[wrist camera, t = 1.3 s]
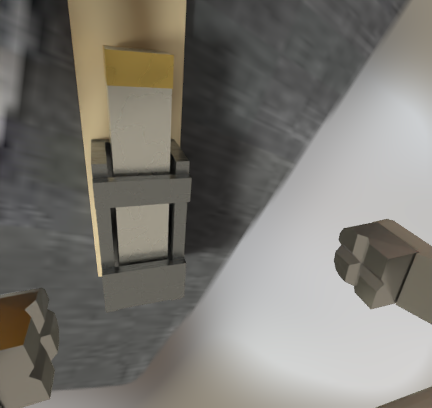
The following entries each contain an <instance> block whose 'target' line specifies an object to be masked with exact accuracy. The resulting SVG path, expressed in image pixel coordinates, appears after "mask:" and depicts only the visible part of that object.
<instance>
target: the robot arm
mask: <svg viewBox="0 0 432 408" xmlns="http://www.w3.org/2000/svg"><path fill="white" fill-rule="evenodd" d="M339 241H340V243H341V246H340V247H339V248H338V250H337V251H336V253H335V258H334V263H335V267H336V270H337V272H338V274H339V276H340V277H341V278H342V279H343V280H344V281H345V282H347V283H349V284H351V285H353V286H354V289H355V293H356V294H357V295H358V296H359V297H360V298H361V299H362V301H364V303H365V304H366V305H367V306H368V307H369V308H370V309H374V308H378V307H382V306H386V305H390V304H394V303H396V305H398V306H399V307H401V308H403V309H405V310H407V311H408V312H410V313H412V314H414V315H416V316H418V317H419V318H421V319H423V320H425V321H427V322H428V323H430V324H432V246H431V245H429V244H427V243H426V242H425V241H423V240H422V239H420V238H419V237H417V236H416V235H414V234H413V233H411V232H410V231H408V230H407V229H405V228H404V227H402V226H401V225H399V224H398V223H396V222H395V221H393V220H389V219H385V220H380V221H376V222H372V223H368V224H363V225H359V226H353V227H348V228H344V229H343V230H342V231H341V233H340V236H339ZM48 303H49V298H48V295H47V293H46V291H45V289H43V288H36V289H30V290H25V291H19V292H13V293H8V294H2V295H0V408H22V407H25V406H29V405H32V404H35V403H38V402H42V401H45V400H48V399H50V396H51V390H52V384H53V378H54V372H55V370H54V367H53V365H52V362H51V360H52V359H53V357H54V356H55V355H56V354H57V353H58V346H59V327H58V322H57V318H56V316H55V313H54V312H52V311H50V310H48V309H47V308H48ZM376 408H432V387H429V388H427V389H424V390H421V391H418V392H416V393H413V394H410V395H408V396H405V397H403V398H400V399H397V400H395V401H392V402H389V403H387V404H384V405H381V406H379V407H376Z"/></svg>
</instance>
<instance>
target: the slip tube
mask: <svg viewBox="0 0 432 408" xmlns="http://www.w3.org/2000/svg"><path fill="white" fill-rule="evenodd" d="M102 47H103V61H104V75H105V80H106V93H107V108H108V122H109V136H110V151H111V165H112V177H126V176H148V175H169V174H170V146H171V109H172V89H173V71H174V55H173V54H170V53H167V52H165V51H162V50H153V49H142V48H131V47H119V46H108V45H102ZM168 219H169V203H168V204H155V205H143V206H130V207H117V208H115V223H116V237H117V252H118V266H125V265H132V264H140V263H147V262H154V261H161V260H167V256H168Z"/></svg>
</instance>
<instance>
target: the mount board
mask: <svg viewBox="0 0 432 408" xmlns="http://www.w3.org/2000/svg"><path fill="white" fill-rule="evenodd" d="M68 9H69V18H70V27H71V36H72V45H73V54H74V62H75V71H76V80H77V89H78V98H79V107H80V116H81V125H82V134H83V143H84V152H85V161H86V170H87V179H88V188H89V197H90V206H91V215H92V224H93V233H94V242H95V251H96V259H97V268H98V277H101V276H102V266H101V256H100V247H99V237H98V227H97V218H96V209H95V203H94V193H93V184H92V169H91V139H110V136H109V122H108V108H107V93H106V80H105V75H104V61H103V47H102V45H108V46H119V47H131V48H142V49H153V50H162V51H165V52H167V53H170V54H173V55H174V71H173V89H172V109H171V139H174V140H175V141H176V143H177V144H178V145H179V147H180V137H181V114H182V91H183V67H184V44H185V20H186V0H68Z"/></svg>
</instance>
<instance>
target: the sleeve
mask: <svg viewBox="0 0 432 408" xmlns="http://www.w3.org/2000/svg"><path fill="white" fill-rule="evenodd" d="M189 163H190V161H189V160H188V158H187V157H186V155H185V154H184V153H183V151H182V150H181V148H180V147H179V145H178V144H177V143H176V141H175V140H174V139H171V146H170V174H169V175H148V176H126V177H112V165H111V151H110V139H91V169H92V184H93V193H94V203H95V209H96V218H97V227H98V237H99V247H100V256H101V266H102V280H103V289H104V299H105V309H106V313H107V312H112V311H117V310H118V309H122V308H127V307H133V306H138V305H144V304H149V303H155V302H160V301H165V300H177V299H181V298H182V297H184V289H185V274H186V261H185V259H184V247H185V231H186V214H187V202H190V196H191V181H192V178H191V176H190V175H189ZM168 203H169V219H168V256H167V260H161V261H154V262H147V263H140V264H132V265H125V266H118V252H117V237H116V223H115V208H117V207H130V206H143V205H155V204H168Z"/></svg>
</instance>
